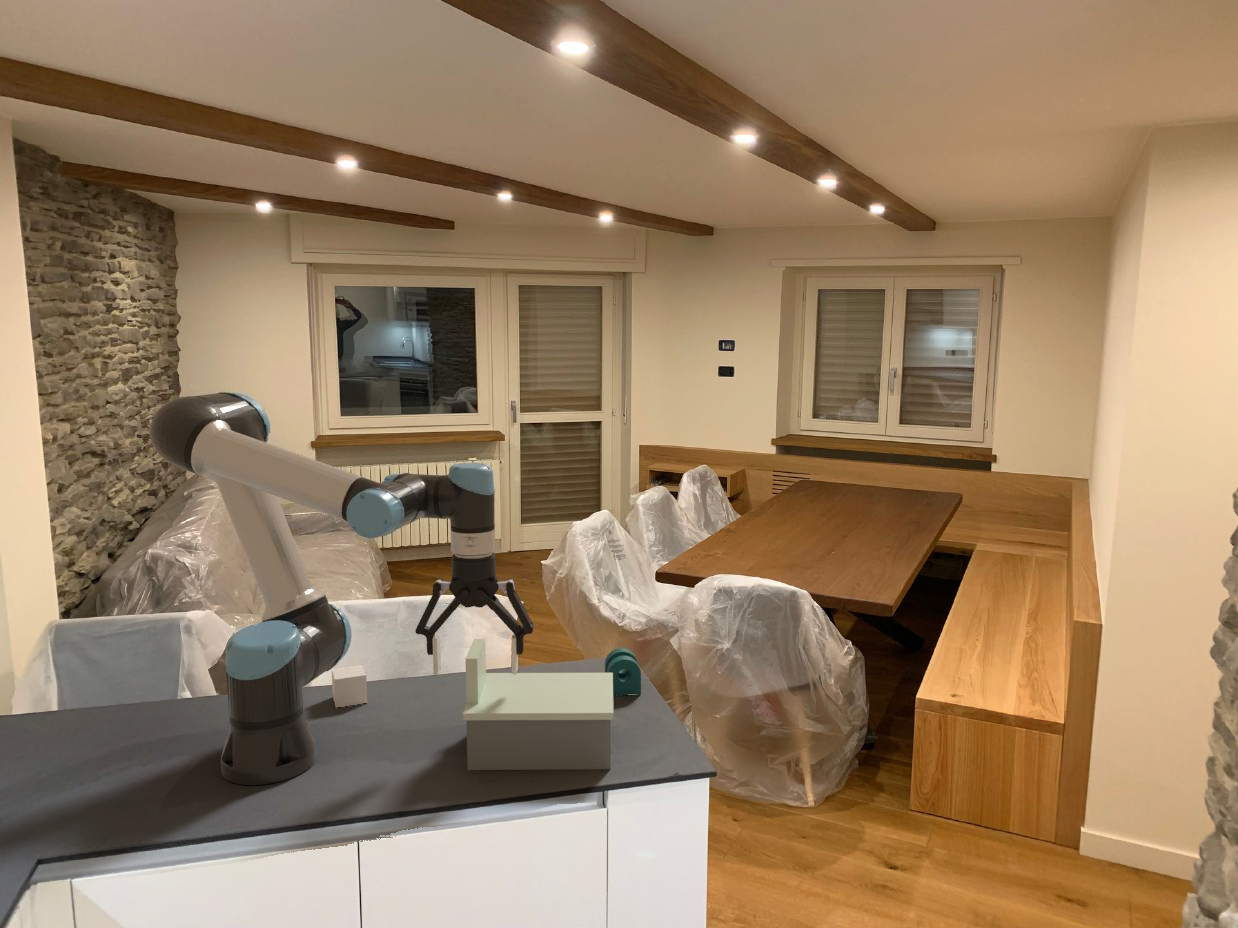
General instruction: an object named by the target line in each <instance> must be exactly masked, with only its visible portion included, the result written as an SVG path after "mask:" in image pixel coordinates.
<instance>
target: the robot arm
mask: <svg viewBox="0 0 1238 928" xmlns="http://www.w3.org/2000/svg"><path fill="white" fill-rule="evenodd" d="M270 433H271V422H270V418H269V416H268V414H267V412H266V411H265V408H263V406H262V405H261V404H260V403H259V402H258V401H257V400H256V399H254V398H252V397H250V396H248V395H246V394H243V393H239V392H229V391H228V392H227V391H224V392H223V391H222V392H221V391H219V392H217V393H209V394H200V395H193V396H190V395H189V396H188V395H187V396H180V397H176V398H173V399H171V400H169V401H167V402H166V403H164V404H162V405H161V407H160V408H159V409H157V411H156V412H155V414H154V415H153V417H152V420H151V421H150V428H149V435H150V441H151V444H152V447H153V448H154V450H155V451H156V452H157V454H158V455H159V456H160V458H162V459H163V460H165V461H166V462H168V463H169V464H171V465H173V466H175V467H177V468H180V469H182V470H185V471H187V472H190V473H193V474H196V475H199V476H203V477H204V478H205V479H208V480H210V481H212V482H214V483H215V484H216V485H217V488H218V490H219V493H220V495H221V498H222V500H223V503H224V505H225V508H226V510H227V513H228V515H229V518H230V519H231V522H232V525H233V528H234V530H235V533H236V535H237V537H238V540H239V542H240V545H241V547H242V550H243V553H244V555H245V557H246V560H247V562H248V564H249V567H250V569H251V573H252V575H253V578H254V580H255V582H256V586H257V587H258V590H259V592H260V594H261V598H262V599H263V602H264V605H265V608H264V609H265V610H264V612H263V614H262V616H261V619H260V620H261V622H258V623H257V624H250V625H247V626H245V627H243V628H241V629H239V630H238V631H236V632H235V633H234V634H233V635H231V637H230V638H229V639H228V641H227V642H226V645H225V658H224V669H225V673H226V687H227V688H226V689H227V700H228V701H227V702H228V703H227V704H228V714H229V715H228V716H229V728H228V732H227V735H226V738H225V742H224V745H223V748H222V753H221V756H220V773H221V776H222V777H223V778H224V780H226V781H228V782H231V783H234V784H237V785H247V786H258V785H268V784H274V783H278V782H282V781H286V780H288V779H289V780H290V779H293V778H294V777H296V776H299V775H301V774H302V773H304V772H306V771H307V770H308V769H310V768H311V767H312V766H313V765H314V764H315V762H316V761H317V745H316V742H315V738H314V737H313V735H312V732H311V729H310V726H309V725H308V723H307V720H306V718H305V715H304V701H303V688H304V687H305V686H306V685H307V686H308V684H310V682H311V683H312V681H314V680H315V679H317V678H318V677H319V676H322V675H323V674H324V673H325V672H329V671H330V670H332V669H334V667H336V665H338V663H339V662H340V661H341V660H343V658H344V657H345V656H346V654H347V652H348V651H349V648H350V646H351V642H352V626H351V623H350V621H349V618H348V616H347V615H346V614H345V613H344V611H343V610H342V609H341V608H337V607H336V606H335V605H334V604H333V603H332V604H331V603H329V601H328V598H327V596H326V594H325V592H323V591H321V590H318V589H316V588H314V586H313V584H312V582H311V579H310V577H309V574H308V571H307V569H306V567H305V565H304V562H303V560H302V557H301V555H300V552H299V549H298V547H297V543H296V542H295V539H294V537H293V534H292V532H291V529H290V526H289V524H288V522H287V519H286V516H285V514H284V511H283V509H282V505H281V504H280V501H279V498H281V499H284V500H287V501H288V502H289V501H290V502H292V503H294V504H298V505H300V506H303V507H306V508H309V509H311V510H314V511H316V512H318V513H319V512H320V513H322V514H325V515H328V516H330V517H334V518H336V519H339V520H343V521H345V522H347V523H348V525H349V526H350V527H351V529H352V530H353V531H354V532H355V533H356V534H357V535H359V536H360V537H362V538H364V539H365V538H366V539H376V538H377V539H378V538H380V537H386V536H388V535H391V534H393V533H395V532H396V531H397V530H398V529H401V528H403V527H405V526H407V525H410V524H412V523H413V522H416V521H418V520H420V519H442V520H446V519H448V520H449V522H450V523H449V525H450V551H451V553H453V555H452V556H451V557H450V558H451V561H450V563H451V580H450V581H443V580H442V579H441V578H438V579H436V580H435V582H434V583H433V585H432V594H431V597H430V599H429V602H428V603H427V606H426V607H425V609H424V611H423V614H422V616H421V618H420V620H419V622H418V623H417V626H416V628H415V630H414V631H415V634H416V635H422V636H424V637H425V639H426V653H427V655H428V656H432V664H433V665H432V669H433V676H434V675H435V676H437V675H439V673H440V671H441V669H442V667H441V665H442V663H441V662H442V661H441V634H440V633H437V632H438V631H439V629H440V628H441V627H442V626H443V625H444V624H445V622H446V621H447V620H448V619H449V618H450V616H452V614H453V613H454V611H456V610H457V608H459V606H460V605H461V606H463V607H464V608H473V607H475V608H483V607H485V606H487V607H488V609H490V610H491V611H493V612H494V613H495V614H496V615H497V617H498V618H499V619H500V620H501V621H502V622H503V623H504V624H505V625H506V626H507V628H508V629H509V630H510V631H511V632H512V636H511V641H510V642H511V673H512V674H517V673H518V670H519V662H518V661H519V658H518V655H523V653H524V649H525V639H524V636H527V635H531V634H533V631H534V628H535V624H534V622H533V621H532V618H531V617H530V615H529V613H528V612H527V610H526V607H525V606H524V604H523V602H522V600H521V598H520V597H519V595H518V593H517V590H516V584H515V580H514V579H513V578H509V579H508V580H506V581H505V580H504V581H498V580H497V565H496V564H497V563H496V555H495V553H494V552H495V551H496V524H495V521H496V520H495V518H496V517H495V510H496V509H495V503H496V502H495V500H496V498H495V494H496V489H495V482H494V471H493V468H492V467H491V466H490V465H489V464H487V463H480V462H461V463H455V464H453V465H450V466H449V468H448V474H443V475H442V474H425V473H424V474H421V473H410V472H403V473H391V474H387V475H386V476H385V477H384V479H383V481H381V482H378V481H374V480H373V479H369V478H365V477H363V476H361V475H358V474H356V473H353V472H350V471H347V470H344V469H341V468H338V467H336V466H333V465H331V464H327V463H324V462H323V461H318V460H316V459H313V458H310V457H307V456H304V455H301V454H299V453H297V452H293V451H291V450H287V449H286V448H285V449H284V448H282V447H280V446H276V445H274V444H271V443H268V440H269V434H270ZM447 590H449V591H450V592H451V593H452V596H453V597H454V598H453V599H452V600H451V602H450V603H448V606H447V607H446V608H445V609H444V610H443V612H441V614H440V615H439V616H438V617H437V619H435V621H434V622H433V623H432V624H431V625H430V626H427V624H428V623H429V620H430V618H431V616H432V614H433V612H434V610H435V608H436V606H437V604H438V602H439V600H440V598H441V596H442V595H444V594H445V593H446V592H447ZM498 590H501V591H502V593H503V594H505V595H507V598H508V600H509V603H510V604H511V606H512V608H513V610H514V612H515V614H516V616H517V617H518V619H519V622H520V623H519V622H518V620H517V619H516V617H514V616H513V615H512V614H511V613H510V612H509V610H508V609H507V608H506V606H504V605H503V604H502V602H500V599H499V598H498V597H497V596H496V593H497V592H498Z"/></svg>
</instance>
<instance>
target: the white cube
mask: <svg viewBox="0 0 1238 928" xmlns="http://www.w3.org/2000/svg"><path fill="white" fill-rule="evenodd" d="M331 683H332V684H331V685H332V687H331V688H332V689H331V690H332V699H333V702H335V703H334V706H335V708H336V707H342V708H346V707H345V706H348V707H350V706H349V705H355V706H358V705H357V704H361V705H363V704H362V703H367V704H368V689H367V687H368V686H367V684H368V683H367V674H366V671H365V668H364V666H363V664H359V665H352V666H347V667H346V666H345V667H337V668H332V669H331Z"/></svg>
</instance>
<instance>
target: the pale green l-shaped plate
mask: <svg viewBox="0 0 1238 928" xmlns="http://www.w3.org/2000/svg"><path fill="white" fill-rule="evenodd" d="M486 657H487V655H486V638H474V639H473V640H472V643H471V645H470V646H469V649H468V652H467V654H466V656H465V663H464V664H465V695H466V697H465V699H466V701H465V702H466V704H465V706H464V710H463V712H462V721H466V720H610V721H613V720H614V696H613V673H605V672H517V674H512V672H487V667H486V666H487V665H486V662H487V661H486V659H487V658H486Z"/></svg>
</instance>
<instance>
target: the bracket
mask: <svg viewBox="0 0 1238 928" xmlns="http://www.w3.org/2000/svg"><path fill="white" fill-rule="evenodd" d="M604 660H605V661H604V673H613V697H617V696H616V695H628V694H638V695H637V696H642V673H641V669H640V665H639V662H638V660H637V657H636V655H635V653H634V652H632V651H631V650H630V649H628V648H624V647H619V648H615V649H613V650H611V651H610V652H609V653H608V654H607V656H606V657H605V659H604Z"/></svg>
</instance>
